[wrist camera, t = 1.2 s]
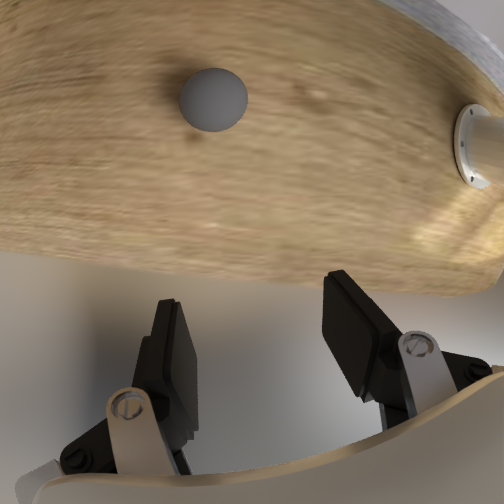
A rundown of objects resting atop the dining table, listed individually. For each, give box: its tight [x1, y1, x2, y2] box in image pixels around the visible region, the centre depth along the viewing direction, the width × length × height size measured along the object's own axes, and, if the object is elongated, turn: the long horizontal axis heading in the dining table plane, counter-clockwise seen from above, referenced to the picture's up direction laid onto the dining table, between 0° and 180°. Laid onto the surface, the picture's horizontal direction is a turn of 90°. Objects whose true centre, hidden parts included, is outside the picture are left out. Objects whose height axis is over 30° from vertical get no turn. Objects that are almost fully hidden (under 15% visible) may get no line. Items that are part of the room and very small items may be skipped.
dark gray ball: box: [179, 68, 248, 132], centre depth 20 cm, size 6×6×6 cm
